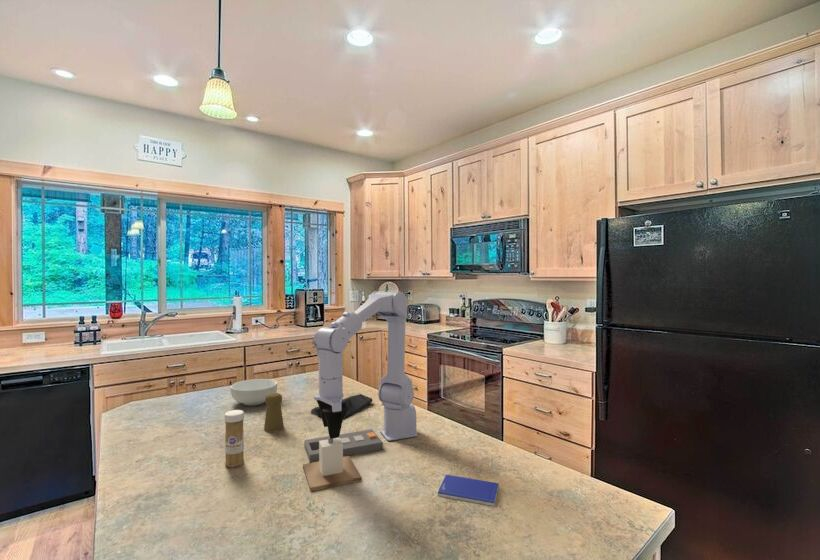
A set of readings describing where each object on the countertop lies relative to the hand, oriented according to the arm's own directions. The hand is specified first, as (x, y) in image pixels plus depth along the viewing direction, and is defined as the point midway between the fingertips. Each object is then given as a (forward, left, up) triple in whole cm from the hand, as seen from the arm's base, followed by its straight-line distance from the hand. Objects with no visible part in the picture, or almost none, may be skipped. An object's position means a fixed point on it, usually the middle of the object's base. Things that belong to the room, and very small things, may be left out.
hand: (331, 431), depth 98 cm
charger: (0, 0, -10) cm, 10 cm away
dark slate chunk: (-14, -45, -11) cm, 48 cm away
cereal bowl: (+16, -66, -11) cm, 69 cm away
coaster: (0, 0, -10) cm, 10 cm away
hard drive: (-27, +20, -11) cm, 35 cm away
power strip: (-6, -13, -10) cm, 18 cm away
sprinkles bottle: (+22, -15, -11) cm, 29 cm away
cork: (+11, -36, -11) cm, 39 cm away
